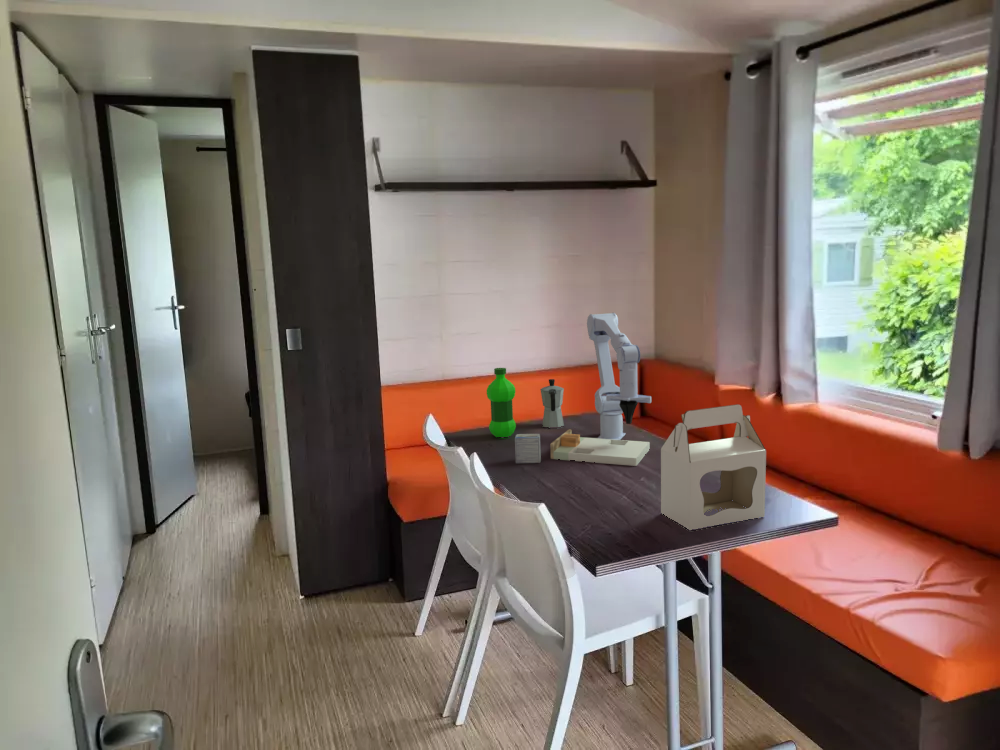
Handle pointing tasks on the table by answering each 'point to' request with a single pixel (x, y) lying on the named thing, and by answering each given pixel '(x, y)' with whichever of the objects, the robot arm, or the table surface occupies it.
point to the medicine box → (527, 448)
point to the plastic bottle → (501, 405)
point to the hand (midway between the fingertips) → (628, 423)
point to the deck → (601, 450)
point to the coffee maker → (552, 405)
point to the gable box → (730, 455)
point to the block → (570, 440)
